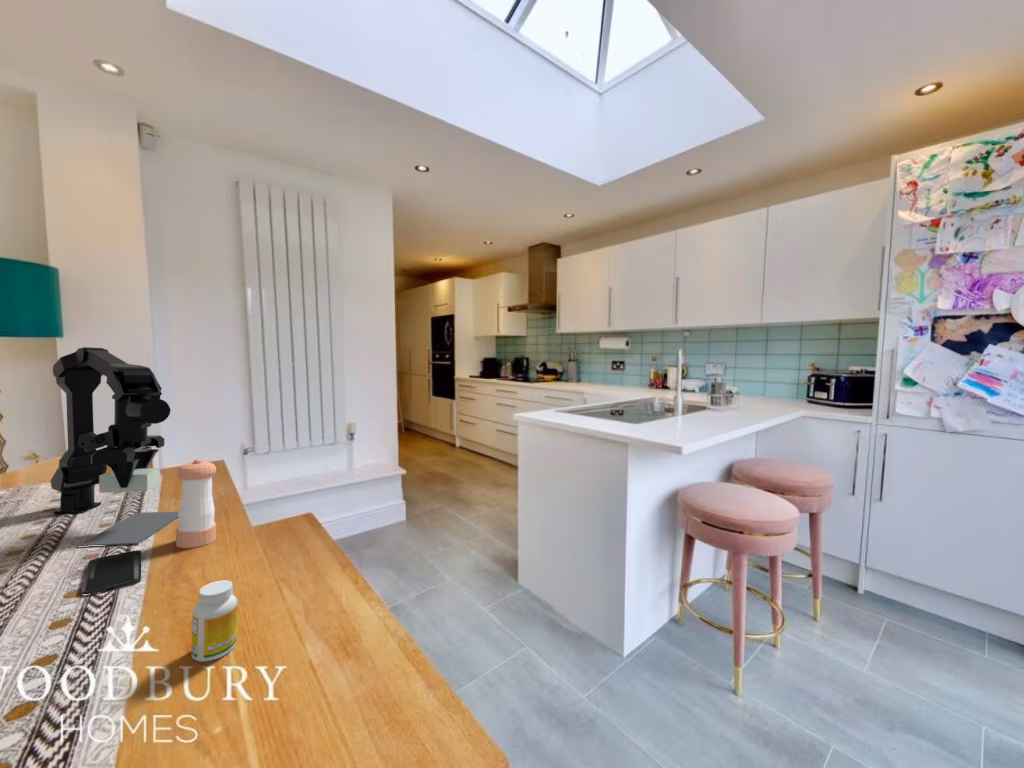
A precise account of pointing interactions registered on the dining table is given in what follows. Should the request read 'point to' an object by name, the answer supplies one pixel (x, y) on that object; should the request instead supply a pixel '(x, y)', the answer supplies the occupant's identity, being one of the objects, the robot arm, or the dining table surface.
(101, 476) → the card case
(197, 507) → the pepper shaker
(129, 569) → the phone
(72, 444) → the robot arm
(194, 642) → the supplement bottle
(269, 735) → the dining table surface
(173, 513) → the rubber mat
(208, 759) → the dining table surface
